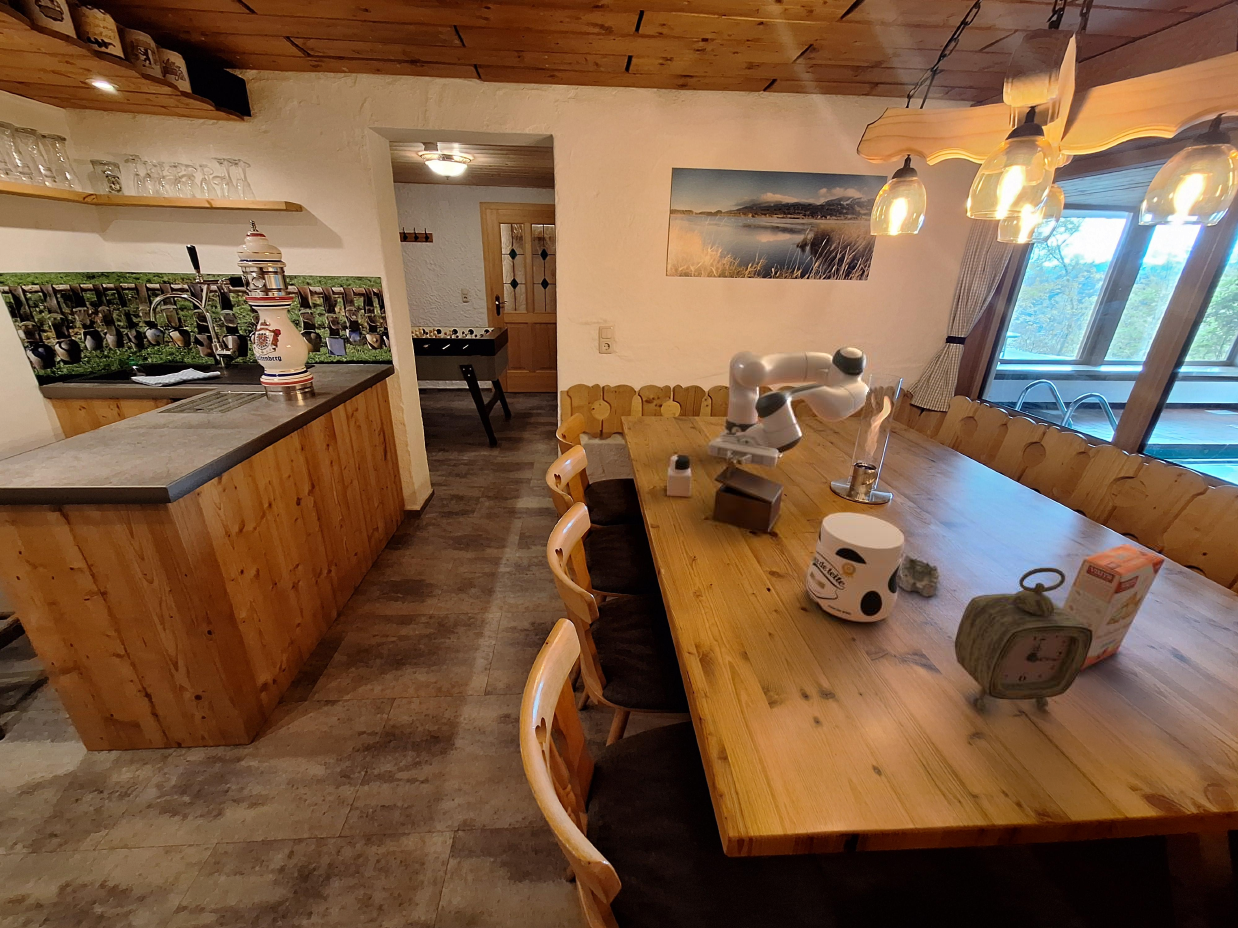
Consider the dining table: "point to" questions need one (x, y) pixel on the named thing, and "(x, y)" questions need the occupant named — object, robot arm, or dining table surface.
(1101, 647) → the cracker box
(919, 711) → the dining table surface
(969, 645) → the tabletop clock
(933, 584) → the egg carton
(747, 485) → the chest lid
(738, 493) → the chest
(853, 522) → the milk container
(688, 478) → the medicine bottle
